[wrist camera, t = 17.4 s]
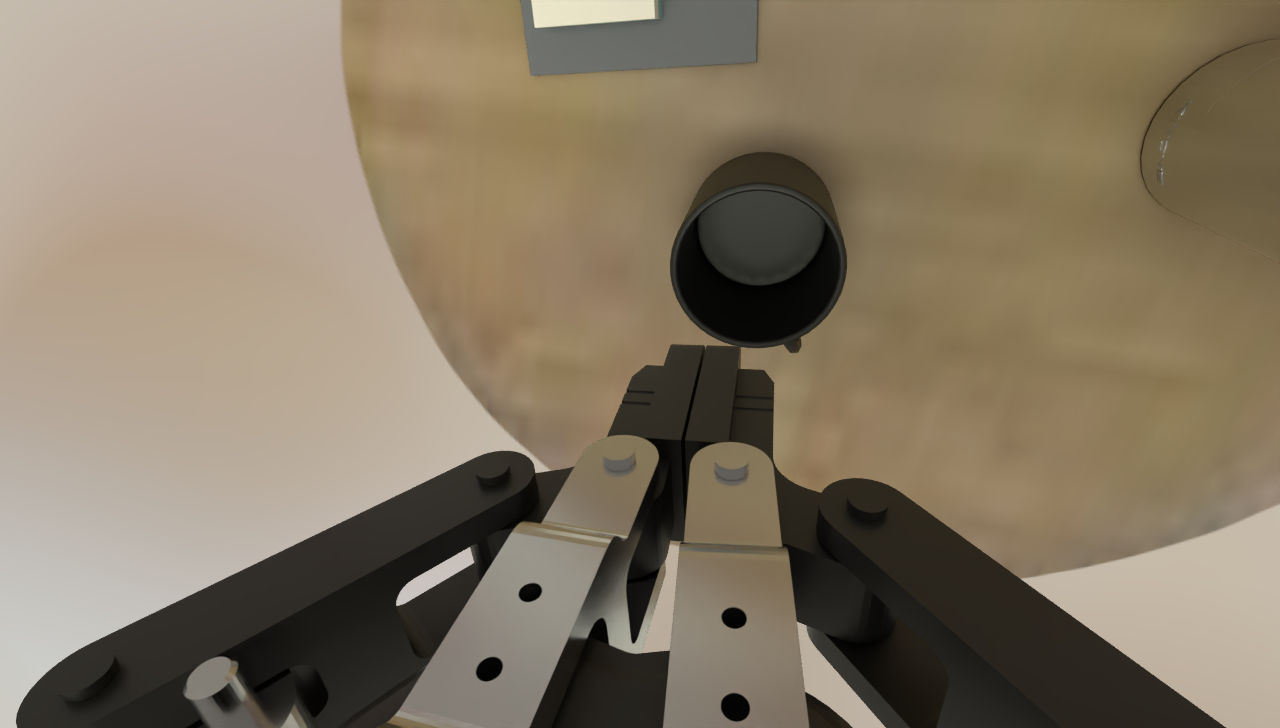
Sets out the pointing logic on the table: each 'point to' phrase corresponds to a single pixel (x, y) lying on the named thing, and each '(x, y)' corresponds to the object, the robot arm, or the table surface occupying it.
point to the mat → (647, 39)
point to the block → (593, 12)
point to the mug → (759, 253)
